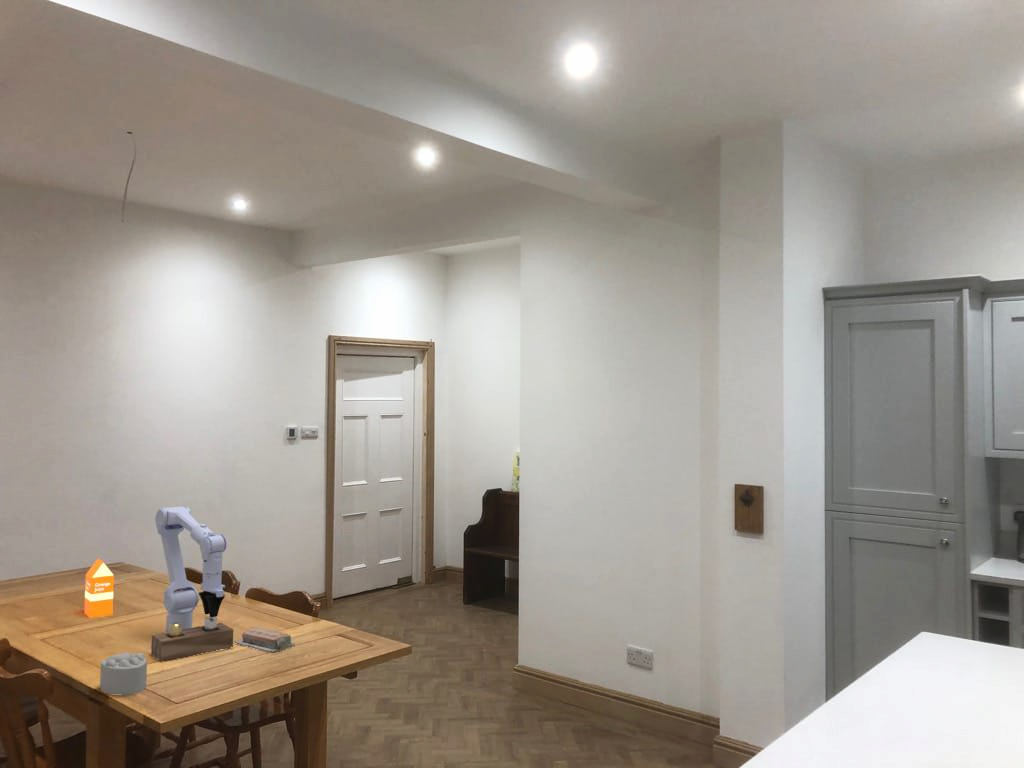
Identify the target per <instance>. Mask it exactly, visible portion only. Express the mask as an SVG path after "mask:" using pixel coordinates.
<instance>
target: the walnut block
mask: <svg viewBox="0 0 1024 768" xmlns="http://www.w3.org/2000/svg"><path fill="white" fill-rule="evenodd" d="M231 647H233V648H234V629H233V628H232V627H230V626H228V625H226V624H224V623H223V622H217V629H216V630H214V631H208V632H205V625H201V626H195V627H192V628H188V629H182V636H180V637H174V638H169V632H166V631H165V632H161V633H154V634H151V647H150V648H151V650H150V654H151V656H153V655H154V656H155V658H156V659H157V658H158V659H159V660H158V659H157V660H158V661H160V662H161V661H165V662H168V661H167V660H170V661H173V660H172V659H175V660H178V659H177V658H180V659H184V658H183V657H185V658H189V656H190V657H194V656H193V655H195V656H198V655H197V654H200V655H202V654H201V653H206V652H211V651H216V650H220V649H226V648H231ZM231 649H232V648H231ZM226 650H227V649H226ZM216 652H217V651H216ZM211 653H212V652H211ZM206 654H207V653H206Z"/></svg>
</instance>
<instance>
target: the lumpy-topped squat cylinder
mask: <svg viewBox="0 0 1024 768" xmlns="http://www.w3.org/2000/svg"><path fill="white" fill-rule="evenodd" d="M147 669H148V660H147V658H145V656H144V654H143V653H142V652H137V653H135V654H134V653H131V652H122V653H118V654H112V655H110V656H108V657H107V658H104V659H102V661H101V662H100V676H99V677H100V678H99V680H100V681H99V690H101V692H103V691H104V692H103V693H105V692H106V693H105V694H107V693H109V694H108V695H110V694H122V695H121V696H129V695H128V694H132V695H136V694H139V693H141V692H143V691H144V690H145V689H146V688H145V687H147V672H148V671H147ZM142 690H143V691H142ZM138 692H139V693H138ZM135 693H136V694H135Z"/></svg>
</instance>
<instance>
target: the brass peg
mask: <svg viewBox="0 0 1024 768" xmlns="http://www.w3.org/2000/svg"><path fill="white" fill-rule="evenodd" d="M180 636H182V623H180V622H175V623H171V624H170V627H169V638H174V637H180Z"/></svg>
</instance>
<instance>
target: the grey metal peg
mask: <svg viewBox="0 0 1024 768" xmlns="http://www.w3.org/2000/svg"><path fill="white" fill-rule="evenodd" d="M217 617H218V616H217ZM217 617H210V616H208V617H207V616H206V617H205V618H204V626H205V632H208V631H214V630H216V629H217V623H218V622H217V621H218V620H217V619H218V618H217Z"/></svg>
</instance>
